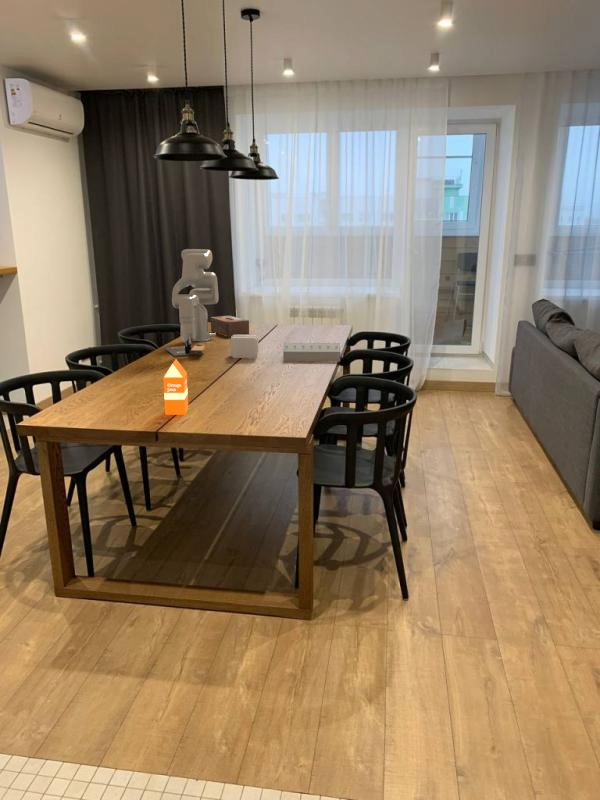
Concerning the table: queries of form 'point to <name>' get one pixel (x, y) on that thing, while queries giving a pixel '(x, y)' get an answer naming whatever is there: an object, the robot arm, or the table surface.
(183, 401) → the orange juice
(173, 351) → the label panel
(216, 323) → the tissue box cover
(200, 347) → the swing arm
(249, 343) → the cable organizer
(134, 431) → the table surface
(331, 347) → the warehouse
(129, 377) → the table surface
